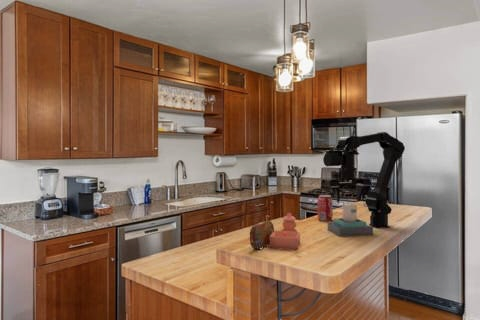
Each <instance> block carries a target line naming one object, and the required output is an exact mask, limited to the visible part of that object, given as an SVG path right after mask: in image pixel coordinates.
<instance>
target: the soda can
mask: <svg viewBox="0 0 480 320" xmlns="http://www.w3.org/2000/svg"><path fill="white" fill-rule="evenodd" d="M333 206H334V205H333V198H332V195H331V194H320V195H318V198H317V219H318V220H319V221H322V222H330V221H331V220H332V219H333V210H334V209H333Z"/></svg>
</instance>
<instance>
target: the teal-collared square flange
mask: <svg viewBox="0 0 480 320" xmlns="http://www.w3.org/2000/svg"><path fill="white" fill-rule="evenodd" d="M327 230H328V231H329V232H332V233H333V234H335V235H336V236H339V237H359V236H373V235H374V227H373V226H371V225H368V224H367V221H364V220H362V219H360V218H357V222H343V217H338V218H337V217H335V218H333V222H332V221H331V222H327Z"/></svg>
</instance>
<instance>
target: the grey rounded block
mask: <svg viewBox="0 0 480 320" xmlns="http://www.w3.org/2000/svg"><path fill="white" fill-rule="evenodd" d="M357 209H358V205H355V204H342V218H343V222H357V219H358V218H357V217H358V214H357V213H358V210H357Z"/></svg>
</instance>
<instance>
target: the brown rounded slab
mask: <svg viewBox="0 0 480 320" xmlns="http://www.w3.org/2000/svg"><path fill="white" fill-rule="evenodd" d="M274 231H275V226H274V224H273V222H272V221H270V220H265V221H264V220H263V221H261V222H258V223H257V224H254V225H253V226H252V227H251V228H250V231H249V242H250V244H249V245H250V247H252V249H254V248H255V250H261V249H260V248H262V247H264V246H266V247H268V246H270V245H269V244H270V241H269V236H270V235H271V234H272V233H273V232H274ZM267 245H268V246H267ZM264 248H265V247H264Z"/></svg>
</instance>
